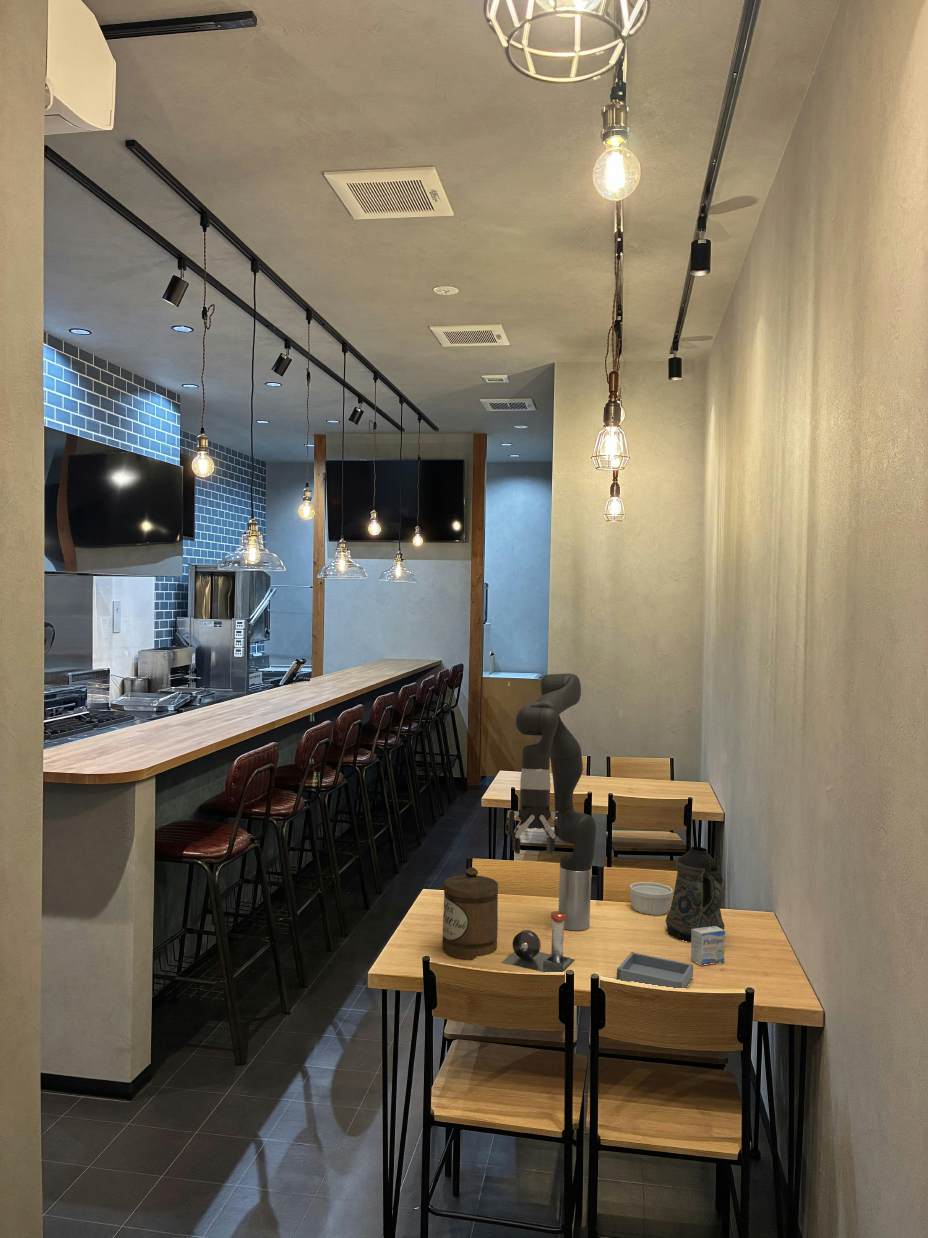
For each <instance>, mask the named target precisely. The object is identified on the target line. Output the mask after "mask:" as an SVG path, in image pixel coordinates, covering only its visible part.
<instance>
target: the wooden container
mask: <svg viewBox="0 0 928 1238" xmlns="http://www.w3.org/2000/svg"><path fill="white" fill-rule="evenodd" d="M478 873H479V871H478V870H477V869H476V868H475V867H472V866H470V867H468V868H467V869H466V870H465V875H463V874H462V875H455V876H451V877H448V878H447V879H445V880H444V883H443V884H444V885H443V893H444V894H443V895H444V896H443V913H442V949H441V950H442V951H443V952H444V953H445V954H446V955H448V956H449V957H452V958H456V959H460V960H470V961H473V960H475V959H477V958H478V957H483V956H488V955H490V954H493V953H495V952H496V951H497V950H498V931H499V929H498V928H499V925H498V923H499V922H498V918H499V917H498V912H499V911H498V910H499V909H498V908H499V907H498V905H499V904H498V903H499V902H498V901H499V900H498V899H499V898H498V895H499V882H497V880H495V879H494V878H491V877H489V876H488V877H487V876H482V875H479V874H478Z"/></svg>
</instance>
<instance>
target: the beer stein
mask: <svg viewBox="0 0 928 1238" xmlns="http://www.w3.org/2000/svg"><path fill="white" fill-rule="evenodd" d="M674 863H675V864H674V865H675V868H676V871H677V874H676V879H675V883H674V884H675V885H674V888H673V889H674V890H673V895H672V899H671V906H670V910H669V911H668V912H667V915H666V918H665V924H666V931H667V933H668V935H669V936H670V937H672V938H674V939H676V940H678V939H679V941H682V940H684V941H683V942H685V941H687V942H686V943H690V942H691V929H695V928H703V927H711V926H717V927H719V928H721V929H723V930H724V931H725V923H724V920H723V916H722V911H721V906H722V904H723V902H724V900H725V895H726V884H725V881H724V879H723V876H722V874H721V873H720V872H719V871H720V865H719V864H718V862H717V861H716V860H715V859H714V858H713V857H712V856H711V855H710V854H709V852H708V850H707V849H706V848H705V847H701V846H691V848H690V849H689V850H688V851H687V852H686V853H684V854H682V855H680V856H679V857H678V858H677V859H676V860H675V862H674Z"/></svg>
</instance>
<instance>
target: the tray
mask: <svg viewBox="0 0 928 1238" xmlns="http://www.w3.org/2000/svg"><path fill="white" fill-rule="evenodd" d="M692 977H693V978H694V964H693V963H692V964H691V963H687V962H681V961H677V960H673V959H667V958H662V957H658V956H657V957H656V956H652V955H647V954H642V953H639V952H638V953H637V952H633V951H631V952H630V953H629V954H628V955H627V956H626V958H624V960H623V961H622V962H621V964H620V965H619V966H618V967H617V969H616V980H618V979H621V980H620V981H622V980H626V981H625V982H627V981H634V982H639V983H645V984H652V985H658V986H666V987H673V988H687V989H688V987H689V986H688V984H689V983H690V984H691V982H692V981H691V979H692ZM692 980H693V979H692ZM690 981H691V982H690ZM690 984H689V985H690ZM687 986H688V987H687Z"/></svg>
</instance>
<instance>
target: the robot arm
mask: <svg viewBox="0 0 928 1238" xmlns="http://www.w3.org/2000/svg"><path fill="white" fill-rule="evenodd" d="M540 693H541V696H539V698H538V699H537V700H536V701H535V702H532V703H528V704H526V705H524V706H522V707H521V708H520V709H519V710H518V712H517V714H516V717H515V726H516V729H517V730H518V732H520V733H521V734H522V735H526V736H541V739H540V740H539V742H538V743H533V744H528V745H525V746H523V748H522V751H521V757H522V758H521V774H520V779H519V780H520V782H519V785H520V786H519V810H516V811H515V810H510V809H509V810H507V811H506V821H505V830H504V831H505V832H504V833H505V834H506V835H507V836H510V837H512V847H511V848H512V851H514V854H517V855H520V854H521V838H520V837H521V835H522V834H523V833H525V831H526V830H527V829H529V830H533V829H538V830H543V832H544V833H545V834H546V835H547V837H546V853H547V854H549V855H550V854H551V855H553V852H554V851H555V848H556V847H555V842H556V841H555V840H556V838H558V840H560V841H562V842H565V843H568V844H573V845H574V846H573V851H572V852H570V853H566V854H563V855H561V856H560V859H559V883H558V884H559V885H558V886H559V887H558V910H557V911H560V912H564V913H566V920H564V930H569V931H584V930H588V929H589V928H590V922H591V920H590V918H591V888H592V883H591V882H592V863H593V860H594V856H595V848H596V847H595V845H596V836H597V835H596V833H597V824H596V821H595V819H594V817H593V816H592V815H589V814H586V813H583V812H578V811H575V809H574V803H573V798H574V796H573V795H574V791H575V789H576V786H577V785H578V783H579V781H580V779H581V777H582V775H583V770H584V766H583V765H584V764H583V757H582V747H581V745H580V743H579V742H578V740H577V739H576V738H575V736H574V735H573V734H572V733H571V731H570V729H568V727H567V726H566V724H564V722H563V720H562V719H561V714H562V713H563V712H564V711H566V710H568V709H570V708H571V707H573V706H575V705H577V704H578V703H579V701H580V699H581V695H582V685H581V681H580V678H579V677H578V675H577V674H574V673H554V674H553V673H548V674H545V675H543V676H542V677H541V681H540ZM550 767H551V773H552V774H551V773H550ZM550 774H551V775H552V782H553V783H552V785H553V786H552V787H553V794H554V811H551V809H550V806H551V775H550ZM517 818H519V820H520V821H519V822H518V824H517V825H516V828H515V829H514V827H515V826H514V825H515V820H517ZM550 818H551V819H552V820H553V827H554V828H553V829H554V830H553V829H552V827H551V825H550V823H549V822H548V821H549V820H550Z"/></svg>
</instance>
